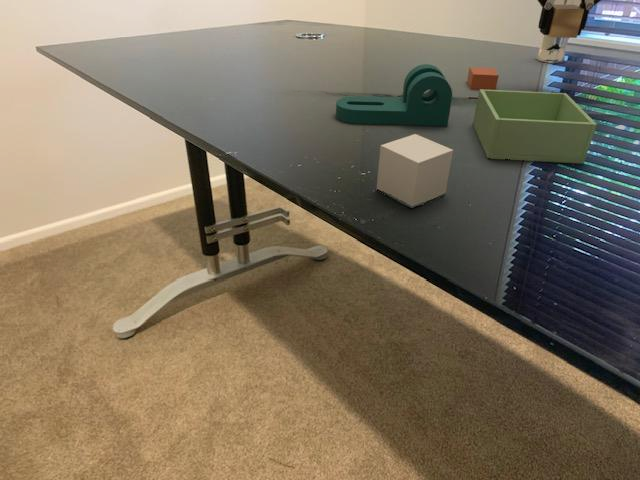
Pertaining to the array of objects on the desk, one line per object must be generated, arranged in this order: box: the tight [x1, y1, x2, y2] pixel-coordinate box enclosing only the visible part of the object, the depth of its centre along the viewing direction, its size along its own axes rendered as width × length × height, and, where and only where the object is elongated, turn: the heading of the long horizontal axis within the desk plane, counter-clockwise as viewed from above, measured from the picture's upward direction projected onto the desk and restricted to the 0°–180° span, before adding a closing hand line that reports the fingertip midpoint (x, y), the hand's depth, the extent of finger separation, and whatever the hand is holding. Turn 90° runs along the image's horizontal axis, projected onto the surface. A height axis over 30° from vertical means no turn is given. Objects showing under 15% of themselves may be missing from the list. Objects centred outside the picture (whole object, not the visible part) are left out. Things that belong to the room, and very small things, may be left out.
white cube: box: [376, 133, 454, 206], centre depth 61 cm, size 6×6×6 cm
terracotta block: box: [466, 67, 499, 100], centre depth 93 cm, size 4×4×4 cm
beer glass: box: [535, 0, 581, 64], centre depth 113 cm, size 7×7×15 cm
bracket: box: [335, 63, 453, 127], centre depth 82 cm, size 18×7×8 cm, turn 89°
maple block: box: [547, 4, 584, 39], centre depth 86 cm, size 4×4×4 cm
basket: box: [472, 89, 598, 165], centre depth 74 cm, size 13×13×6 cm
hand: (559, 32), depth 87 cm, fingers closed on maple block, 4 cm apart
